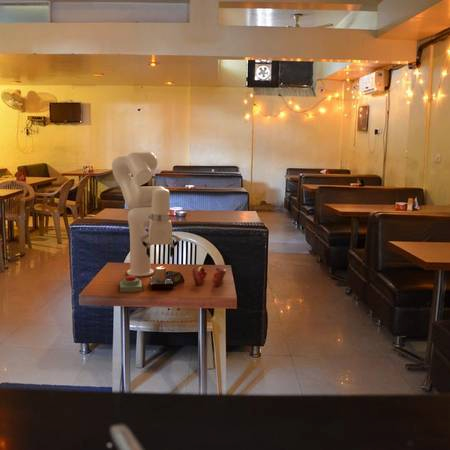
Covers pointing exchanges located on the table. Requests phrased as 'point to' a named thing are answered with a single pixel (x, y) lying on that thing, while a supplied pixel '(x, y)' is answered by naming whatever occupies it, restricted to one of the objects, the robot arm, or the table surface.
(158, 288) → the dial panel
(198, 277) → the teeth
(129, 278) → the lid button
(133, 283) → the button base
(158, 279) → the dial
